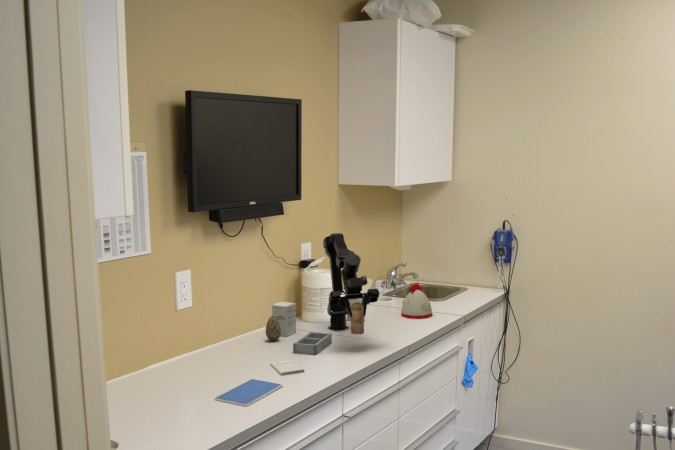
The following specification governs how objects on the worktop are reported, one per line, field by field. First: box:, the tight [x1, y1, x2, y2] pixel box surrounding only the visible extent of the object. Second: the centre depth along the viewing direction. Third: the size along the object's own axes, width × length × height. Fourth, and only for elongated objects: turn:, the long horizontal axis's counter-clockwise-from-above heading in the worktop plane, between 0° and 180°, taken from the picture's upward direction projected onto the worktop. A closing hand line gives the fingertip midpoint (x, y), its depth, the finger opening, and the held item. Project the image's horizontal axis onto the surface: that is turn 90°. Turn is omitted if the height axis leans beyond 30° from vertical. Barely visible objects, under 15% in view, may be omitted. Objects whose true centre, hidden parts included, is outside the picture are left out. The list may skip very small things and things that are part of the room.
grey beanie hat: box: [400, 282, 433, 320], centre depth 296 cm, size 14×14×15 cm
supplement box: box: [271, 301, 297, 337], centre depth 269 cm, size 7×7×13 cm
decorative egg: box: [265, 315, 281, 342], centre depth 259 cm, size 6×6×10 cm
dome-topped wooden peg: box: [350, 302, 365, 335], centre depth 243 cm, size 5×5×11 cm
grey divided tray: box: [292, 331, 333, 356], centre depth 249 cm, size 17×9×4 cm, turn 161°
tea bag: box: [346, 299, 366, 322], centre depth 288 cm, size 4×7×10 cm, turn 64°
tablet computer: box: [213, 378, 283, 408], centre depth 201 cm, size 19×13×1 cm, turn 151°
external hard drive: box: [269, 359, 305, 376], centre depth 224 cm, size 2×8×12 cm
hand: (358, 315), depth 241 cm, fingers closed on dome-topped wooden peg, 5 cm apart
